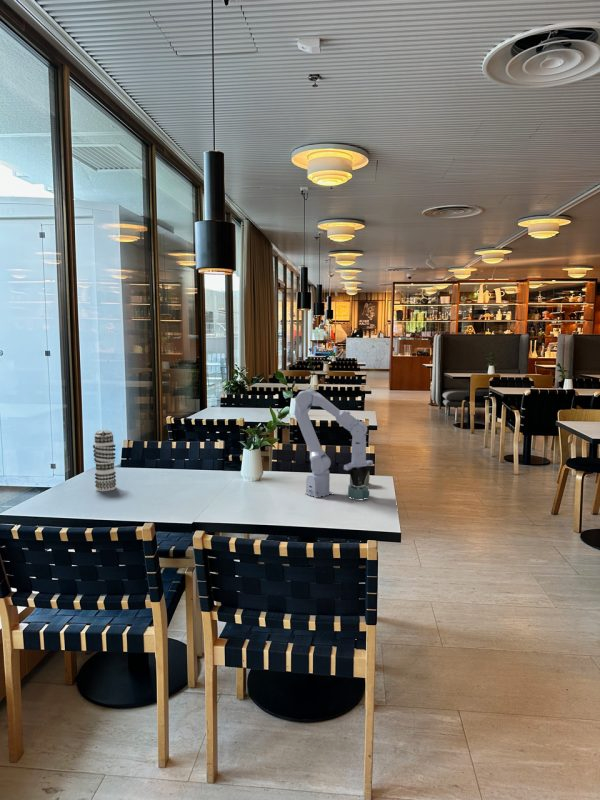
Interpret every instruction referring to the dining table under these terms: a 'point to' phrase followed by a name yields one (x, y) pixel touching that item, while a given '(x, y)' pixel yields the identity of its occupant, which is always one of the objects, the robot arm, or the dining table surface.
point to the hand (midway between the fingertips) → (358, 485)
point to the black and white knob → (359, 484)
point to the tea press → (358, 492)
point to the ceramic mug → (365, 479)
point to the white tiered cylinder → (104, 461)
